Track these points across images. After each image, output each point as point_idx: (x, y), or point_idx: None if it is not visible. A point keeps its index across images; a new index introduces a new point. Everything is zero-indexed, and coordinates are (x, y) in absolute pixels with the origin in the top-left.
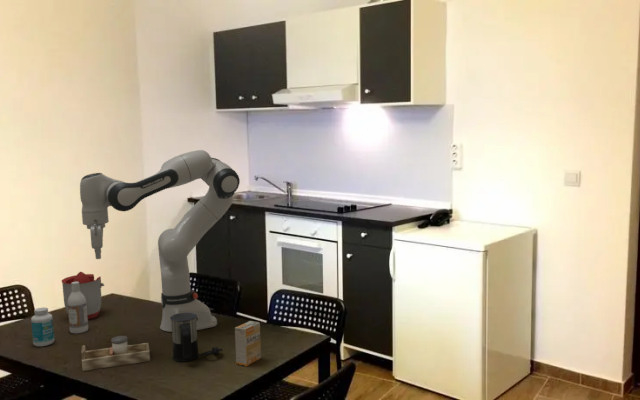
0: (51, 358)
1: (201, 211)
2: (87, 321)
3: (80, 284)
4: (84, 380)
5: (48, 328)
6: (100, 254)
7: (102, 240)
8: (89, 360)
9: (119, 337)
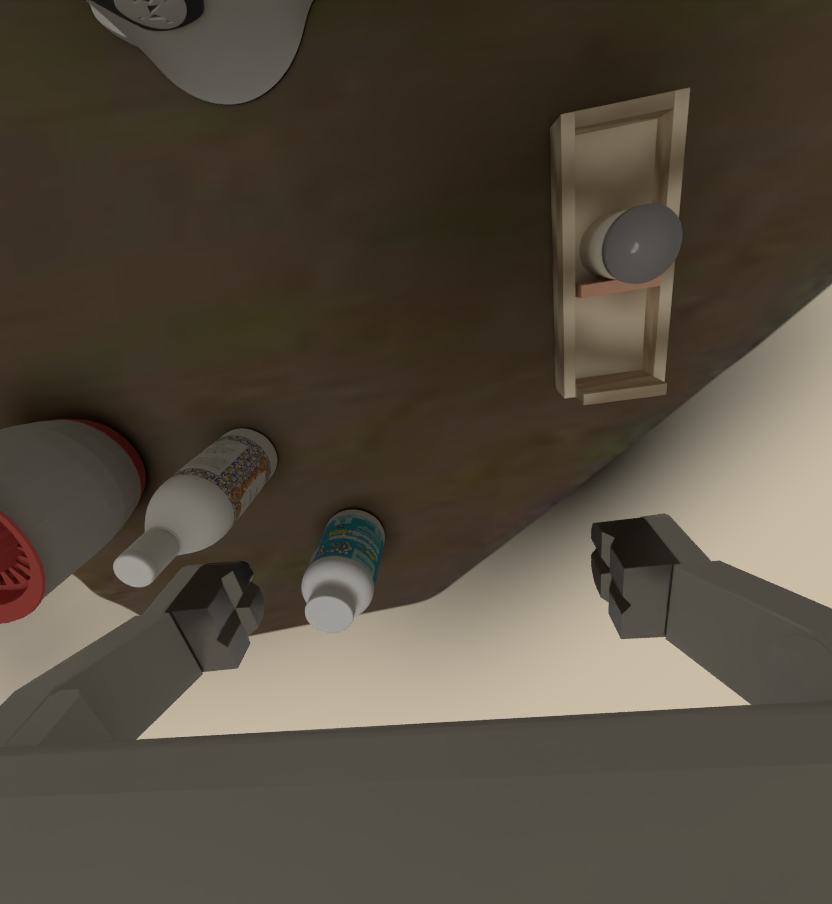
0: (493, 488)
1: None
2: (230, 439)
3: (33, 541)
4: (739, 353)
5: (365, 547)
6: (705, 557)
7: (709, 868)
8: (665, 358)
9: (631, 245)
